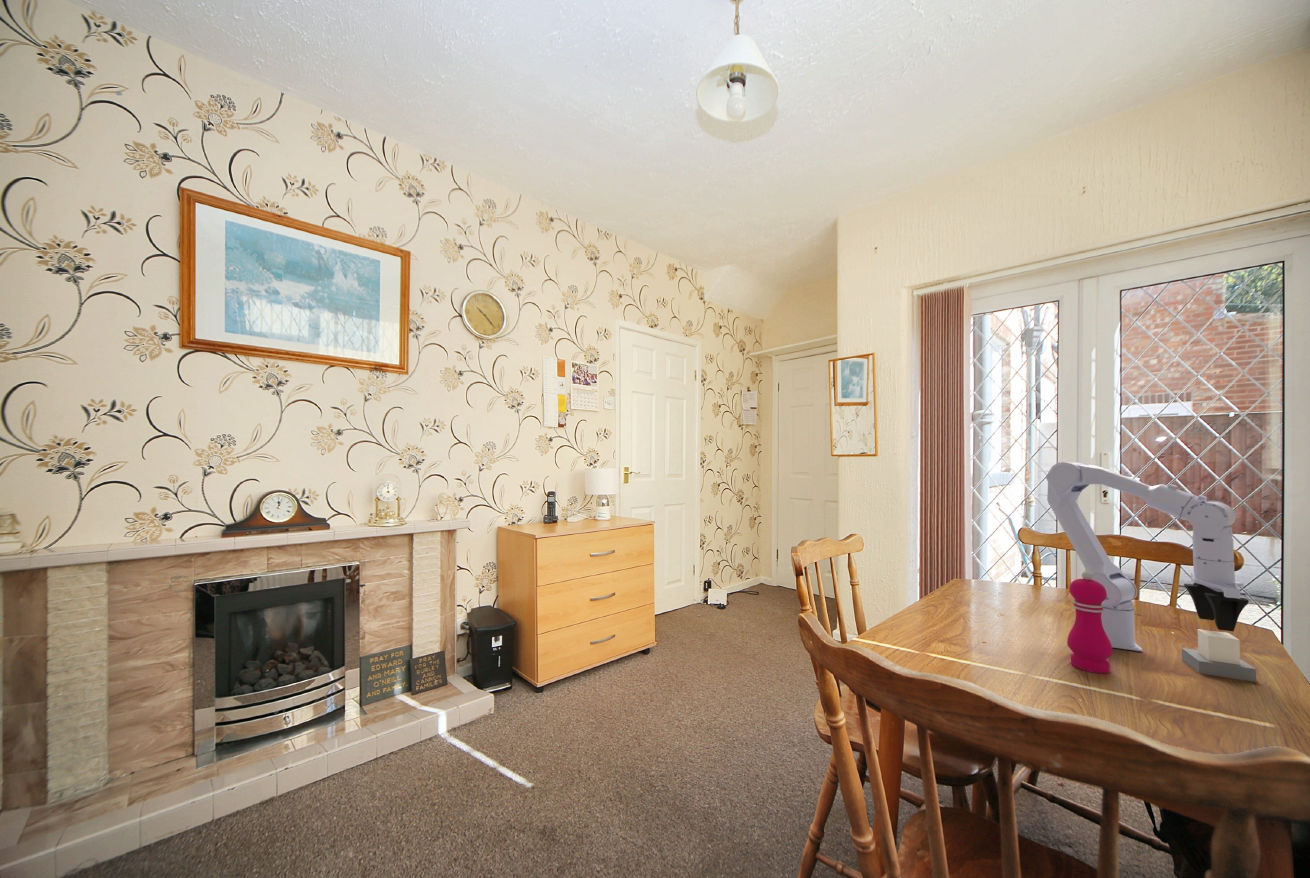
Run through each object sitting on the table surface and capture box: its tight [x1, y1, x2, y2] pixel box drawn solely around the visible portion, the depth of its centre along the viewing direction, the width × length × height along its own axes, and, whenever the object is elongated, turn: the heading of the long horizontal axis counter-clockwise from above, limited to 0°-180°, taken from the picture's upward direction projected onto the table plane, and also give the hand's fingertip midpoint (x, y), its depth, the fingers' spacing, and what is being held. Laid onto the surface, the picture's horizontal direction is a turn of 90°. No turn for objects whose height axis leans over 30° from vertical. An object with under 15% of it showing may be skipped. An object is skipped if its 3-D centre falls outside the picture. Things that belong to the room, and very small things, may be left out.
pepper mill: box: [1066, 571, 1114, 674], centre depth 104 cm, size 7×7×20 cm
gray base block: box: [1181, 647, 1257, 683], centre depth 103 cm, size 8×8×3 cm
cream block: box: [1197, 628, 1241, 665], centre depth 102 cm, size 4×4×5 cm
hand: (1215, 624), depth 103 cm, fingers open, 7 cm apart
